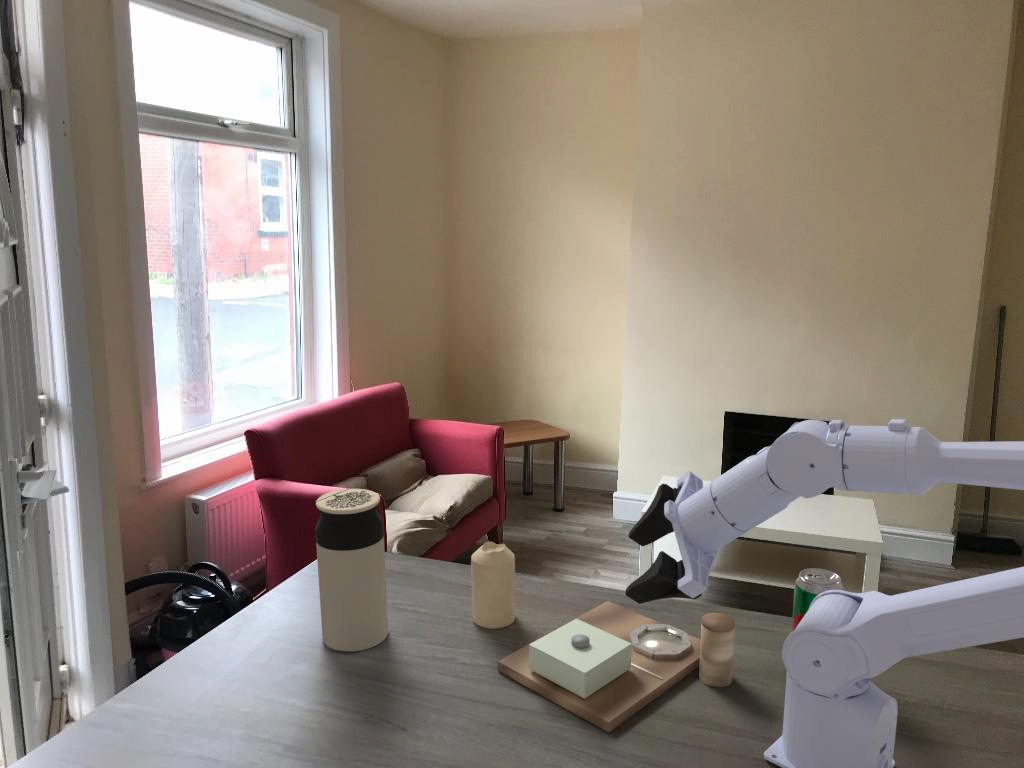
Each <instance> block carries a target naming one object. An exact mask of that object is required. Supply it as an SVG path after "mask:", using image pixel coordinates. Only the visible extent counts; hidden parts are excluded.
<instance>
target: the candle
mask: <svg viewBox="0 0 1024 768" xmlns="http://www.w3.org/2000/svg"><path fill="white" fill-rule="evenodd" d="M515 555H516V554H514V552H513V551H511V549H509V548H508V546H506V544H505V543H499V544H496V543H495V542H494V541H486V542H484V543H483V545H481V546H480V547H479V548H477V550H476V551H474V552H473V553H472V554H471V559H470V567H471V569H470V570H471V572H470V573H471V607H472V608H471V611H472V613H471V614H472V620H473V623H476V624H475V625H477V626H478V625H479V627H481V628H485V629H491V630H493V629H496V630H497V629H502V628H506V627H508V626H510V625H511V624H513V623H514V622H515V619H516V556H515Z"/></svg>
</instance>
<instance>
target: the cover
mask: <svg viewBox="0 0 1024 768" xmlns="http://www.w3.org/2000/svg"><path fill="white" fill-rule="evenodd" d="M574 619H575V620H574ZM574 619H572V620H573V621H572V620H570V621H571V622H570V621H568V622H569V623H568V622H567V624H566V623H565V624H566V625H565V624H563V625H564V626H563V625H561V626H562V627H561V626H559V627H560V628H559V627H557V628H558V629H557V628H556V629H554V630H555V631H554V630H552V631H553V632H552V631H550V632H551V633H550V632H548V633H549V634H548V633H546V634H547V635H546V634H545V635H546V636H545V635H543V636H544V637H543V636H542V638H541V637H539V638H540V639H539V638H537V639H538V640H537V639H535V640H534V641H535V642H534V641H532V642H533V643H532V642H530V643H531V644H530V643H528V644H529V669H530V670H532V671H534V672H536V673H538V674H540V675H541V676H543V677H545V678H547V679H549V680H551V681H553V682H554V683H556V684H558V685H560V686H562V687H564V688H566V689H567V690H569V691H571V692H573V693H575V694H577V695H579V696H580V697H582V698H584V699H585V698H586V697H588V696H589V695H591V694H592V693H594V692H595V691H597V690H599V689H600V688H602V687H603V686H605V685H606V684H608V683H609V682H611V681H612V680H614V679H615V678H617V677H618V676H620V675H621V674H623V673H624V672H626V671H627V670H629V669H630V668H631V648H632V644H631V643H629V642H627V641H625V640H623V639H620V638H618V637H616V636H614V635H612V634H609V633H607V632H605V631H603V630H601V629H598V628H596V627H594V626H592V625H590V624H587V623H585V622H583V621H581V620H579V619H576V618H574Z"/></svg>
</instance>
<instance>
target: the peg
mask: <svg viewBox="0 0 1024 768" xmlns="http://www.w3.org/2000/svg"><path fill="white" fill-rule="evenodd" d="M700 621H701V623H700V625H701V626H700V640H701V643H700V665H699V667H698V668H699V670H698V678H699V680H700V681H701V682H702V683H703V684H705V685H707V686H710V687H713V688H724V687H728V686H729V685H731V684H732V682H733V674H734V673H733V670H734V654H735V653H734V652H735V650H734V649H735V634H736V633H735V632H736V631H735V630H736V621H735V619H734V618H733V617H732V616H730V615H728V614H725V613H721V612H708V613H706V614H704V615H702V617H701V620H700Z"/></svg>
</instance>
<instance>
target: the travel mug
mask: <svg viewBox="0 0 1024 768" xmlns="http://www.w3.org/2000/svg"><path fill="white" fill-rule="evenodd" d="M380 500H381V496H380V495H379V494H378V493H377V492H375V491H372V490H369V489H364V488H363V489H362V488H344V489H338V490H333V491H329V492H327V493H324V494H322V495H320V496H319V497H318V498H317V500H315V506H316V508H317V509H318V511H319V519H318V521H317V523H316V525H315V541H316V542H315V545H316V558H317V559H316V560H317V573H318V588H319V589H318V591H319V592H318V593H319V605H320V618H321V637H322V641H323V643H324V645H326V646H327V647H328V648H330V649H333V650H335V651H341V652H351V653H352V652H359V651H364V650H367V649H371V648H373V647H375V646H377V645H379V644H380V643H382V642H383V641H384V640H385V639H386V638H387V637H388V634H389V623H388V622H389V621H388V619H389V618H388V602H387V601H388V600H387V579H386V558H385V557H386V555H385V554H386V553H385V535H384V534H385V533H384V530H385V529H384V521H383V519H382V518H381V515H380V514H379V513H378V505H379V503H380V502H381V501H380Z"/></svg>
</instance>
